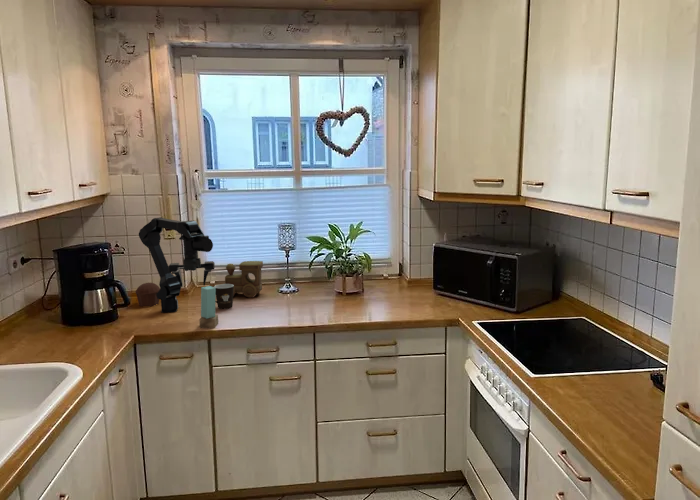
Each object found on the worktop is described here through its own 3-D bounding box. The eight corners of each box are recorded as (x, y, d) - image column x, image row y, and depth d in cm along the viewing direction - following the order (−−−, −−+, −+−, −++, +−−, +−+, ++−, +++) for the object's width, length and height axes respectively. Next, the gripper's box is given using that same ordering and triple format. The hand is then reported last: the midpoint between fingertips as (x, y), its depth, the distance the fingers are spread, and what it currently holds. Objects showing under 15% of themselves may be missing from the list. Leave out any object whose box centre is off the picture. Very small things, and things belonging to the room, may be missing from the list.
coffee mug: (237, 304, 247) (236, 283, 245) (231, 310, 238) (230, 288, 236) (213, 304, 248) (211, 283, 246) (206, 309, 239) (204, 288, 238)
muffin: (156, 307, 244) (154, 286, 243) (132, 307, 244) (130, 286, 243) (165, 300, 256) (164, 280, 254) (142, 301, 256) (141, 280, 255)
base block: (200, 328, 213) (199, 319, 212) (203, 324, 219) (203, 314, 218) (215, 328, 213) (214, 318, 213) (218, 323, 219) (217, 314, 218)
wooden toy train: (264, 292, 269) (263, 260, 266) (260, 298, 258) (258, 264, 255) (225, 292, 270) (224, 260, 267) (219, 298, 259) (217, 265, 256)
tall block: (200, 316, 215) (201, 287, 213) (209, 314, 218) (209, 285, 216) (206, 318, 213) (207, 289, 210) (215, 316, 216) (215, 288, 213)
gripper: (165, 254, 217) (167, 291, 219) (212, 252, 220) (214, 289, 223) (168, 250, 228) (171, 285, 230) (213, 248, 231) (215, 283, 234)
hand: (193, 286), depth 229 cm, fingers open, 9 cm apart
